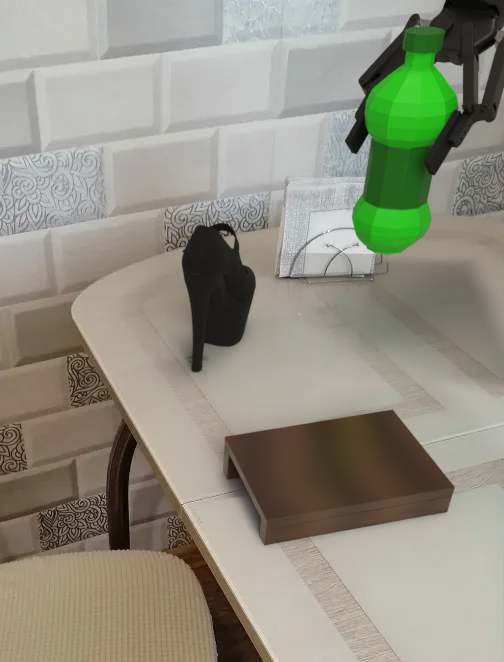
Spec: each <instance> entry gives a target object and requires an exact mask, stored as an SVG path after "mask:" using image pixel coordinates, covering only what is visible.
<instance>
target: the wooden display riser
mask: <svg viewBox="0 0 504 662" xmlns="http://www.w3.org/2000/svg"><path fill="white" fill-rule="evenodd" d="M222 466H223V467H222V468H223V469H222V472H223V473H224V476H225V478H226V480H232V479H237V478H240V479H241V481H242V483H243V486H244V487H245V489H246V491H247V493H248V495H249V497H250V500H251V501H252V503H253V505H254V507H255V510H256V512H257V513H258V515H259V517H260V527H259V538H260V539H261V541H262V543H263V545H264V546H268V545H269V546H270V545H275V544H280V543H286V542H290V541H298V540H303V539H307V538H313V537H318V536H324V535H329V534H334V533H340V532H345V531H350V530H357V529H363V528H367V527H373V526H378V525H384V524H389V523H394V522H399V521H400V522H401V521H406V520H412V519H417V518H423V517H427V516H434V515H438V514H439V515H440V514H444V513H448V512H449V507H450V504H451V501H452V499H453V494H454V493H455V492H454V491H455V488H456V486H455V485H454V484H453V482H451V480H450V479H449V478H448V476H447V475H446V473H444V472H443V470H442V469H441V468H440V466H439V465H438V464H437V463H436V461H435V460H434V459H433V458H432V457H431V455H430V453H428V451H427V450H426V449H425V448H424V446H423V445H422V444H421V443H420V442H419V440H418V439H417V438H416V436H415V435H414V434H413V433H412V432H411V430H410V429H409V428H408V426H407V425H406V424H405V423H404V421H403V420H402V419H401V418H400V416H399V415H398V414H397V413H396V411H395V410H394V409H388V410H387V409H386V410H381V411H375V412H368V413H363V414H357V415H349V416H344V417H337V418H331V419H326V420H320V421H313V422H307V423H301V424H295V425H288V426H282V427H277V428H276V427H275V428H270V429H269V428H268V429H263V430H258V431H252V432H251V431H250V432H245V433H239V434H233V435H227V436H224V448H223V464H222Z"/></svg>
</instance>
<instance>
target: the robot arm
mask: <svg viewBox="0 0 504 662" xmlns="http://www.w3.org/2000/svg"><path fill="white" fill-rule="evenodd" d="M420 26H425V27H436V28H441V29H443V30H444V31H445V35H444V40H443V45H442V50H440V51H438V52H436V55H435V60H434V65H436V64H437V63H442V64H447V63H451V64H453V65H455V66H459V67H462V104H461V109H462V111H461V110H459V109H458V110H454V111H453V113H452V115H451V116H450V118H449V120H448V121H447V123H446V125H445V126H444V128H443V130H442V131H441V133H440V135H439V136H438V138H437V140H436V141H435V143H434V145H433V146H432V148H431V150H430V151H429V153H428V155H427V156H426V158H425V160H424V161H423V162H424V164H425V166H426V168H427V170H428V172H429V174H431V175H432V176H436V175H437V173H438V172H439V170H440V168H441V166H442V165H443V163H444V161H445V160H446V158H447V156H448V154H449V153H450V151H451V150H452V148H455V149H458V148H459V147H460V146H461V145H462V143H463V142H464V140H465V139H466V137H467V135H468V134H469V132H470V130H471V129H472V127H473V126H474V125H475V124H476V123H477V122H485V123H492V122H494V121H495V120H496V118H497V115H498V111H499V108H500V105H501V100H502V96H503V93H504V30H502V29H504V0H444V3H443V6H442V9H441V11H440V12H439V13H438V14H437V15H436V16H435V17H433V18H432V19H424V18H423V19H422V18H421V16H420V14H419V13H416V12H415V13H413V14H411V15H410V16H409V18H408V20H407V22H406V24H405V26H404V28H403V29H402V31H401V32H400V33H399V34H398V35H397V36H396V37H395V38H394V39H393V40H392V42H391V43H390V44H388V46H386V48H385V50H383V52H382V53H381V54H380V55H379V56H378V57H377V58H376V59H375V61H373V62H372V63H371V65H370V66H369V67H368V68H367V69H366V70H365V71H364V73H362V75H361V76H360V77H359V78H358V81H357V82H358V84H359V86H360V88H361V90H362V92H363V95H365V96H364V97H363V99H362V101H361V103H360V104H359V106H358V107H357V110H356V111H355V112H354V119H355V122H354V124H353V126H352V127H351V128H350V130H349V132H348V134H347V135H346V137H345V139H344V142H345V144H346V146H347V148H348V150H349V151H350V153H351V154H354V155H357V154H358V153H359V151H360V150H361V148H362V146H363V144H364V143H365V141H366V140H367V137H368V136H369V135H370V134H369V133H368V130H367V127H366V125H365V106H366V100H367V98H368V96H369V94H370V92H371V90H372V89H373V88H374V87H375V86H376V85H378V84H379V83H380V82H381V81H382V80H383V79H385V78H386V77H387V76H388V75H390V74H391V73H392V72H394V71H395V70H396V69H398V68H399V67H400V66H402V65H403V64H404V63H405V57H406V51H404V50H403V48H402V46H403V40H404V34H405V29H408V28H411V27H420ZM494 46H495V52H494V55H493V58H492V62H491V66H490V69H489V73H488V77H487V81H486V85H485V88H484V92H483V95H482V99H481V103H479V72H480V55H481V54H483V53H484V52H487V51H488V50H490V49H491V48H492V47H494Z"/></svg>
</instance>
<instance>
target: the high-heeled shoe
mask: <svg viewBox="0 0 504 662" xmlns="http://www.w3.org/2000/svg"><path fill="white" fill-rule="evenodd" d="M221 232H227V233H229V234H231V235H232V237H234V241H233V247H231V246H230V244H228V242H227V241H226V239H225V238H224V237H223V235H222V234H221ZM181 251H182V256H181V268H182V275H183V280H184V284H185V286H186V290H187V293H188V301H189V305H190V314H191V325H192V326H191V327H192V352H191V353H192V354H191V356H192V357H191V371H192V372H195V373H197V372H201V371H202V370H203V359H204V358H203V357H204V351H205V350H204V349H205V343H206V344H210V345H214V346H220V347H232V346H235V345H237V344H238V343H239V342H241V340H242V339H243V337H244V335H245V331H246V326H247V321H248V318H249V315H250V310H251V307H252V303H253V300H254V295H255V291H256V288H257V278H256V275H255V272H254V270H253V268H251V267H250V266H248V265H245V264H243V261H242V259H241V253H240V242H239V239H238V237H237V234H236V231H235V230H234V228H233V227H232V226H231V225H230V224H228V223H226V222H218V223H214V224H212V225H210V226H208V225H204V224H199V225H196V227H195V228H194V230H193V231H192V234H191V236H190V238H189V239H188V241H187V243H186V245H185V247H184V249H182V250H181Z"/></svg>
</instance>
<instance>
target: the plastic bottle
mask: <svg viewBox="0 0 504 662" xmlns="http://www.w3.org/2000/svg"><path fill="white" fill-rule="evenodd" d="M444 35H445V31H444V30H443V29H441V28H436V27H425V26H420V27H411V28H408V29H405V34H404V40H403V46H402V48H403V50H404V51H406V57H405V63H404V64H403V65H402V66H400V67H399V68H398V69H396V70H395V71H394V72H392V73H391V74H390V75H388V76H387V77H386V78H385V79H383V80H382V81H381V82H380V83H379V84H378V85H376V86H375V87H374V88H373V89H372V90H371V92H370V94H369V96H368V98H367V100H366V106H365V125H366V127H367V130H368V133H369V134H368V135H370V137H371V139H370V145H369V153H368V159H367V166H366V171H365V178H364V185H363V191H362V194H361V195H360V196H359V198H358V199H357V200H356V203H355V204H354V206H353V208H352V213H351V220H352V224H353V228H354V232H355V236H356V238H357V239H358V240H359V241H360V242H361V243H362V244H363V245H364V246H365V247H366V249H367V250H368V251H370V252H373V253H374V254H379V255H386V256H390V255H398V254H401V253H403V252H404V251H406V250H407V249H408V248H410V247H411V246H413V245H415V244H416V243H417V242H418V241H420V240H421V239H422V238H423V237H425V235H426V234H427V232H428V230H429V229H430V226H431V223H432V213H431V208H430V205H429V203H428V198H429V194H430V189H431V184H432V179H433V175H431V174H429V172H428V170H427V168H426V166H425V164H424V162H423V161H424V160H425V158H426V156H427V155H428V153H429V151H430V150H431V148H432V146H433V145H434V143H435V141H436V140H437V138H438V136H439V135H440V133H441V131H442V130H443V128H444V126H445V125H446V123H447V121H448V120H449V118H450V116H451V115H452V113H453V111H454V110H458V111H459V108H460V107H459V101H458V100H459V99H458V94H457V93H456V92H455V90H454V89H453V88H452V86H451V84H449V82H448V80H447V79H446V78H445V76H444V75H443V74H442V73H441V72H440V70H438V68H437V67H436V66H435V64H434V60H435V55H436V52H438V51H440V50H442V45H443V40H444Z"/></svg>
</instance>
